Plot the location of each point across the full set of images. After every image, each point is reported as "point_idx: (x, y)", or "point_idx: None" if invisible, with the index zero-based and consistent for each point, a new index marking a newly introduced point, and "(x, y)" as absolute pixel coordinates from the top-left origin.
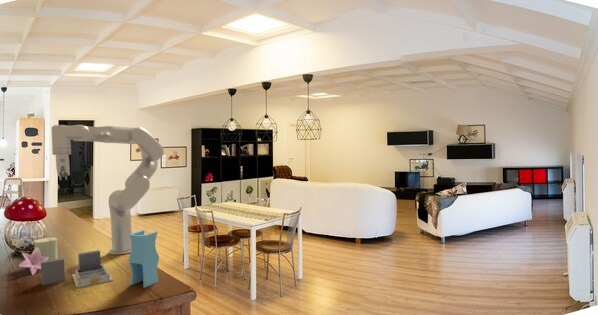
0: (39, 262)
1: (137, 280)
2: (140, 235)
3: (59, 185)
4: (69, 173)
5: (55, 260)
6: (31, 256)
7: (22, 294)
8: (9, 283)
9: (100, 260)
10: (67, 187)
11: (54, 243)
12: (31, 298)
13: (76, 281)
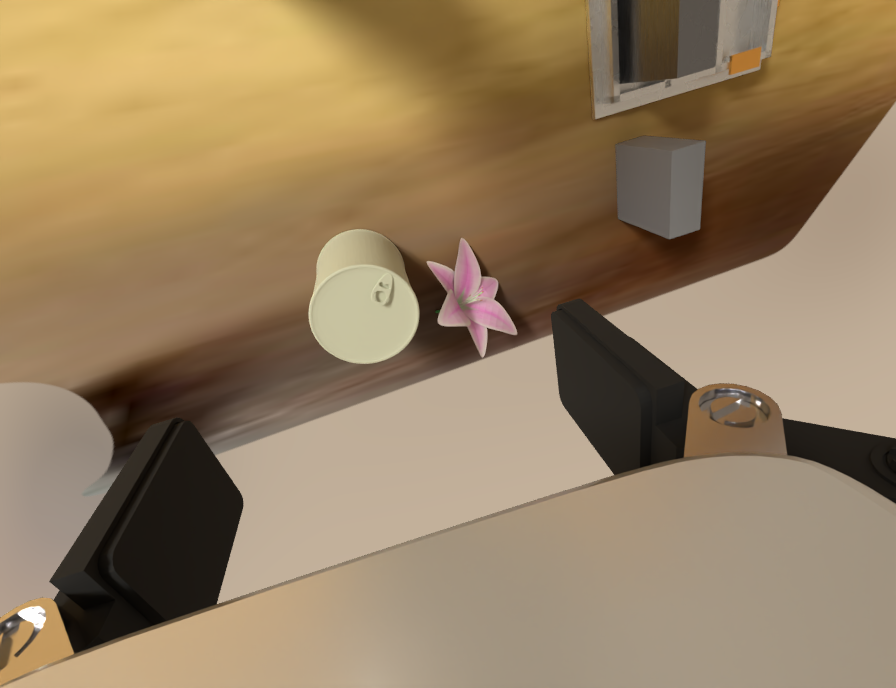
0: (458, 284)
1: None
2: None
3: (235, 521)
4: (854, 485)
5: (696, 177)
6: (469, 320)
7: (694, 246)
8: None
9: None
10: (586, 305)
11: (386, 264)
12: (748, 207)
13: (699, 81)
